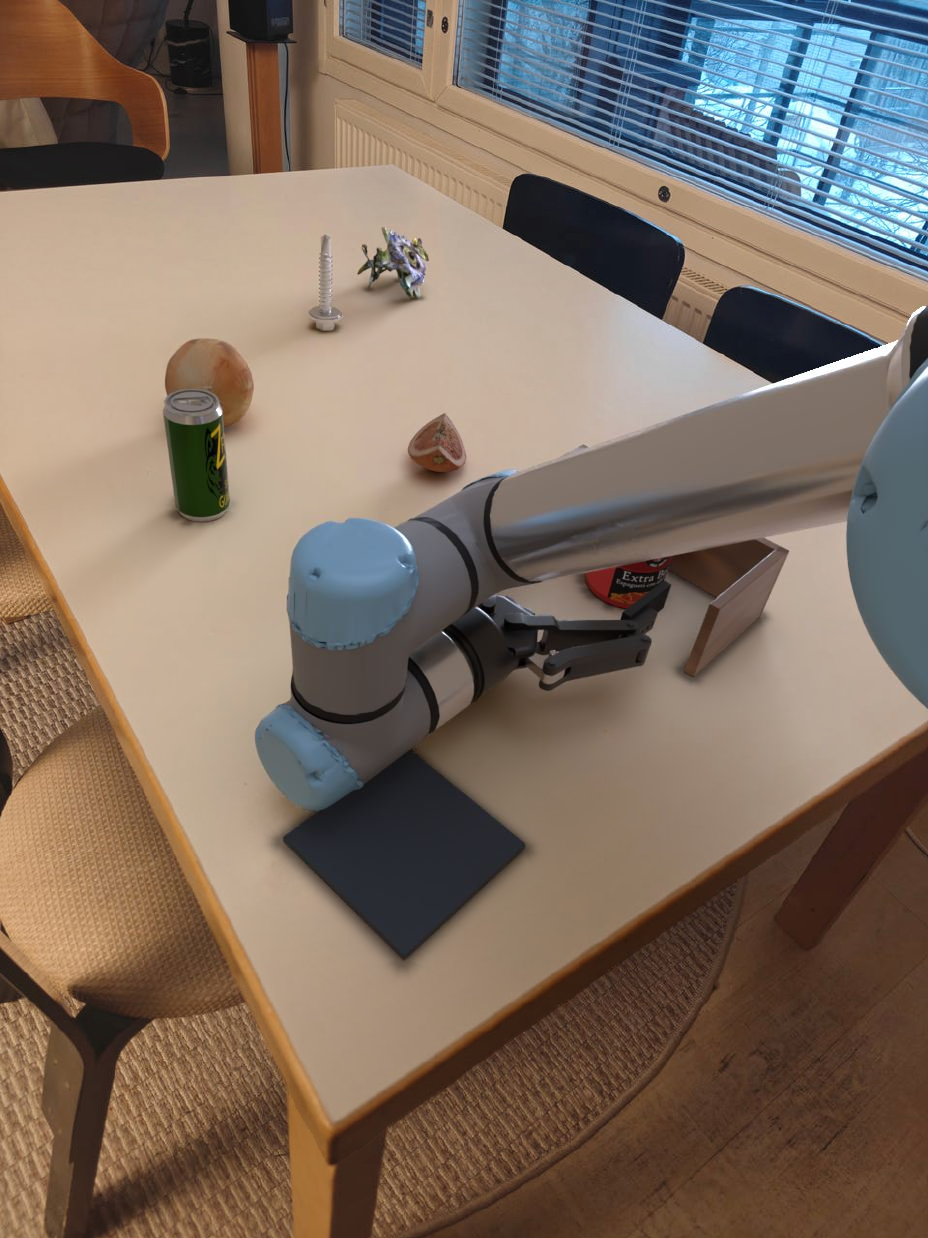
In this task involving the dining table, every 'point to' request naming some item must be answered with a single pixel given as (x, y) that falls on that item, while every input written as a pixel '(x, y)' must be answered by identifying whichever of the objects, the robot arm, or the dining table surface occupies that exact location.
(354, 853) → the mat
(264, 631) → the dining table surface
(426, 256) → the passion flower
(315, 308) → the screw
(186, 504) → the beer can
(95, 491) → the dining table surface
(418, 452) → the fruit slice
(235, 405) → the onion
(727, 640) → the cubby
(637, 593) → the canned food
